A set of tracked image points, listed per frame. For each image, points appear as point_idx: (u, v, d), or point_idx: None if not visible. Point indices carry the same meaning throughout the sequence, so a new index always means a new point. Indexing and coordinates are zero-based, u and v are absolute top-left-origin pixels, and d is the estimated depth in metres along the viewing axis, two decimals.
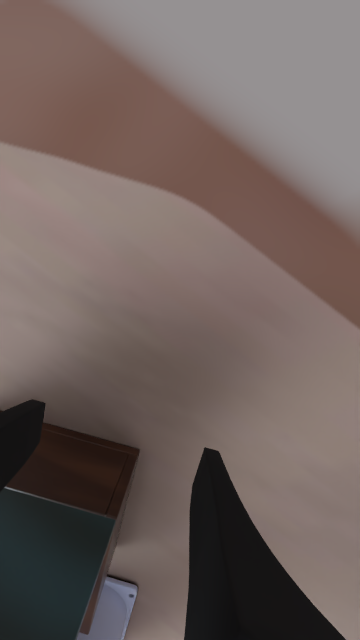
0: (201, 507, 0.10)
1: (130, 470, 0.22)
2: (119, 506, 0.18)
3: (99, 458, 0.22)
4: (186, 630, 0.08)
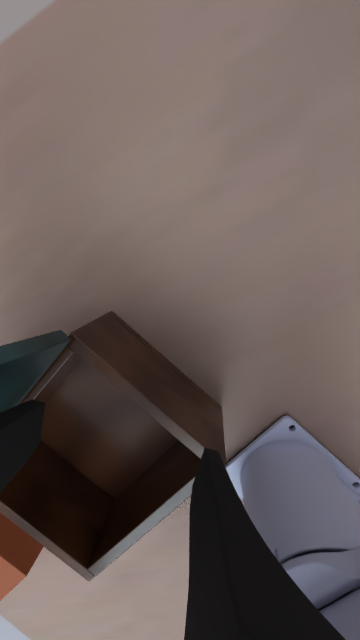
0: (201, 507, 0.10)
1: (97, 318, 0.19)
2: None
3: None
4: (186, 630, 0.08)
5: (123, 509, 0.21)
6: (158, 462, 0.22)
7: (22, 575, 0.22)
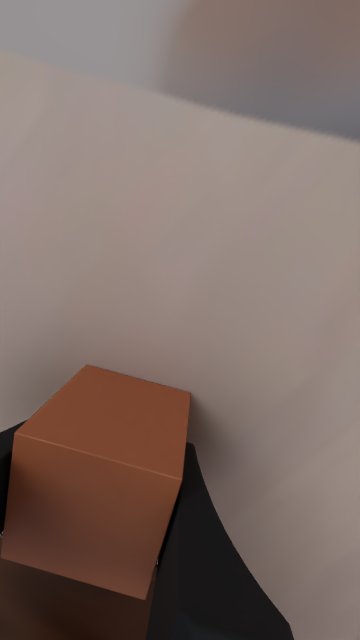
0: None
1: None
2: None
3: None
4: (149, 619, 0.08)
5: None
6: None
7: (7, 556, 0.09)
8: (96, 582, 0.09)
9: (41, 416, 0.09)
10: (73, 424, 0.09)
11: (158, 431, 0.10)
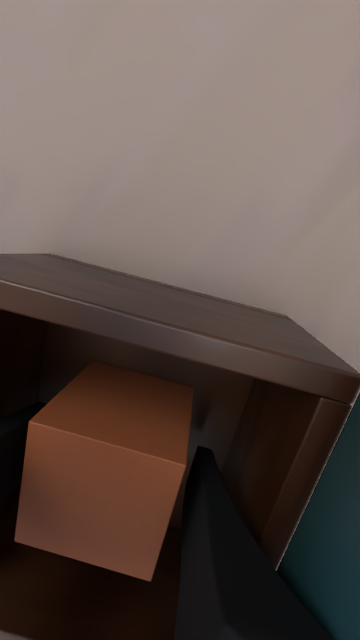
0: (193, 505, 0.10)
1: None
2: None
3: None
4: (176, 627, 0.08)
5: (9, 345, 0.11)
6: (30, 400, 0.13)
7: (20, 539, 0.10)
8: (104, 565, 0.10)
9: (53, 407, 0.09)
10: (83, 414, 0.09)
11: (163, 421, 0.10)
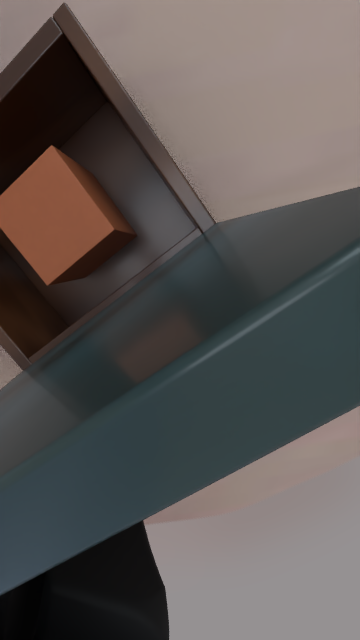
0: None
1: None
2: None
3: None
4: None
5: (57, 110, 0.15)
6: None
7: None
8: (28, 259, 0.15)
9: (64, 155, 0.15)
10: (77, 173, 0.15)
11: (113, 217, 0.16)
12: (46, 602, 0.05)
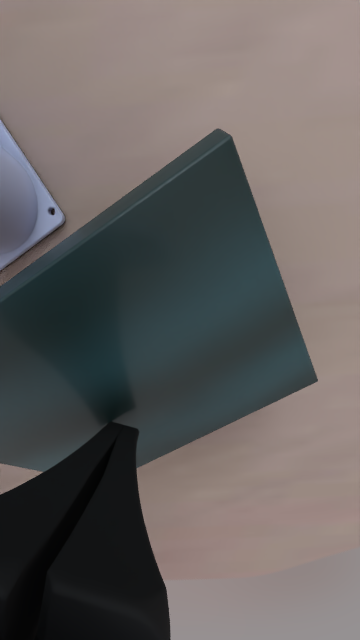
0: None
1: None
2: None
3: None
4: None
5: None
6: None
7: None
8: None
9: None
10: None
11: None
12: (47, 602, 0.05)
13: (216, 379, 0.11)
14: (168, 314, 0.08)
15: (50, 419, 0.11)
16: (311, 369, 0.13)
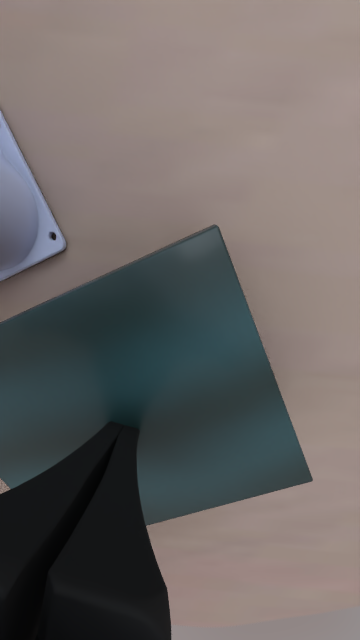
0: None
1: None
2: None
3: None
4: None
5: None
6: None
7: None
8: None
9: None
10: None
11: None
12: (48, 602, 0.05)
13: (199, 435, 0.12)
14: (162, 347, 0.10)
15: (45, 427, 0.12)
16: (302, 459, 0.12)
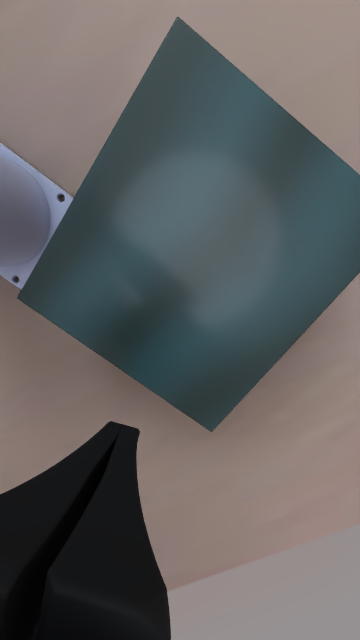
0: None
1: None
2: None
3: None
4: None
5: None
6: None
7: None
8: None
9: None
10: None
11: None
12: (47, 602, 0.05)
13: (267, 227, 0.12)
14: (190, 153, 0.12)
15: (137, 293, 0.13)
16: None
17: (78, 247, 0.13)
